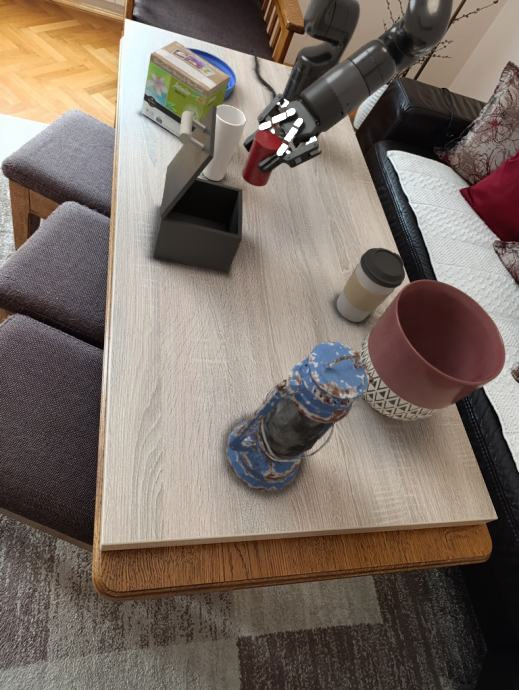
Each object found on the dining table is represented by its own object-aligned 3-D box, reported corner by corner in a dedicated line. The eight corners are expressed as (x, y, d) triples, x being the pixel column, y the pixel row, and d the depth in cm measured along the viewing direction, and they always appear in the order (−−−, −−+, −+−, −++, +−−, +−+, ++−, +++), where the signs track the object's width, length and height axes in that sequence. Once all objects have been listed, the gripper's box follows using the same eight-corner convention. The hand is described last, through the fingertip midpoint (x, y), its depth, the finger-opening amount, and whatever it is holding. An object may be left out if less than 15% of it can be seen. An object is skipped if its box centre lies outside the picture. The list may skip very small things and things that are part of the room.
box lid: (217, 107, 84) (191, 89, 82) (213, 157, 77) (185, 139, 74) (170, 168, 94) (146, 154, 92) (163, 218, 87) (137, 204, 84)
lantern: (296, 413, 86) (386, 311, 62) (317, 483, 80) (425, 400, 56) (210, 422, 80) (274, 312, 56) (226, 498, 74) (304, 412, 50)
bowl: (169, 95, 124) (171, 81, 121) (162, 54, 133) (164, 41, 130) (238, 108, 131) (242, 96, 128) (227, 69, 140) (230, 56, 137)
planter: (440, 438, 93) (525, 384, 76) (349, 441, 86) (419, 382, 69) (408, 349, 103) (477, 284, 86) (324, 345, 96) (380, 274, 79)
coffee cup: (345, 330, 100) (384, 283, 89) (323, 295, 104) (358, 245, 92) (378, 321, 105) (419, 275, 93) (356, 287, 108) (393, 239, 96)
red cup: (241, 165, 92) (254, 127, 86) (267, 172, 94) (282, 135, 87) (241, 182, 90) (255, 144, 83) (267, 189, 91) (283, 152, 85)
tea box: (139, 114, 116) (148, 51, 105) (164, 99, 122) (175, 38, 111) (193, 149, 116) (209, 89, 104) (215, 132, 122) (232, 74, 110)
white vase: (192, 173, 111) (209, 113, 99) (205, 159, 115) (222, 99, 103) (219, 188, 111) (239, 130, 99) (231, 173, 115) (251, 116, 104)
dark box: (229, 225, 106) (242, 189, 98) (227, 273, 98) (242, 238, 91) (160, 208, 102) (168, 169, 94) (152, 257, 94) (161, 219, 87)
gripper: (307, 54, 83) (225, 119, 87) (352, 109, 78) (264, 176, 81) (318, 84, 90) (242, 144, 93) (361, 137, 85) (279, 198, 88)
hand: (253, 159), depth 87 cm, fingers closed on red cup, 5 cm apart
